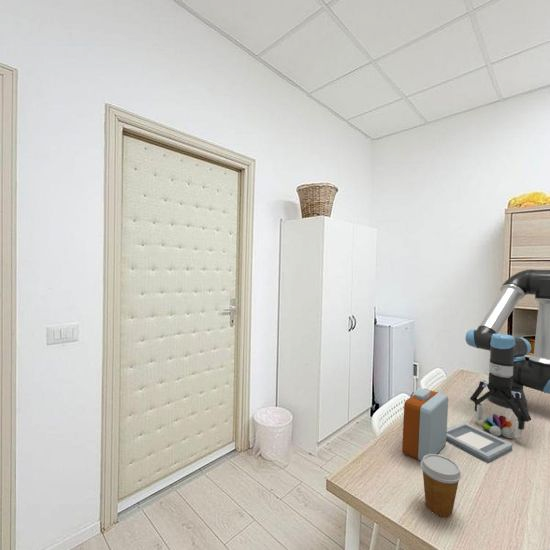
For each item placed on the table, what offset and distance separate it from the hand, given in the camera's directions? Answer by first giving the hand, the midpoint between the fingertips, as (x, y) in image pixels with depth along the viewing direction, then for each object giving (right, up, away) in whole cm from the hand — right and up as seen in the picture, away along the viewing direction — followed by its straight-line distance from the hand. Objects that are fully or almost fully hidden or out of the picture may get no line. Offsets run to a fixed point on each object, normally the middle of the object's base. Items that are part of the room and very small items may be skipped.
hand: (497, 428), depth 121 cm
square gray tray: (-14, -2, -7) cm, 16 cm away
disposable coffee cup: (-43, -2, -39) cm, 58 cm away
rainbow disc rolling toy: (0, -2, 0) cm, 2 cm away
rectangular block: (-34, -2, -12) cm, 36 cm away
